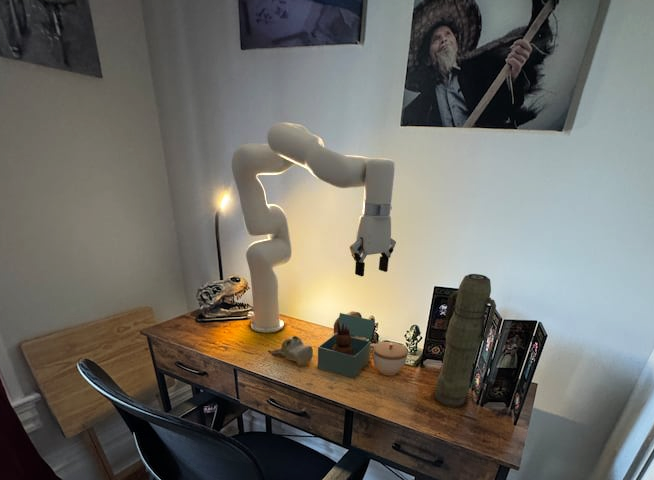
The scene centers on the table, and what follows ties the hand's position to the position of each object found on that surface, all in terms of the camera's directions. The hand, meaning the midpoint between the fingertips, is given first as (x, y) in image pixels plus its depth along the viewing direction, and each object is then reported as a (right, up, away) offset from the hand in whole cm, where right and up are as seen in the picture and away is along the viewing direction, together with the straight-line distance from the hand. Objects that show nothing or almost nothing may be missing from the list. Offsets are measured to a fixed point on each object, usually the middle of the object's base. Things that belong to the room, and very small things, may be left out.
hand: (371, 273), depth 113 cm
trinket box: (+6, -29, +8) cm, 31 cm away
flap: (-5, -14, +10) cm, 18 cm away
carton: (-8, -27, +10) cm, 30 cm away
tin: (-7, -15, +30) cm, 35 cm away
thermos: (+22, -37, -4) cm, 44 cm away
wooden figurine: (-9, -27, +9) cm, 30 cm away
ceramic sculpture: (-25, -25, +12) cm, 37 cm away
